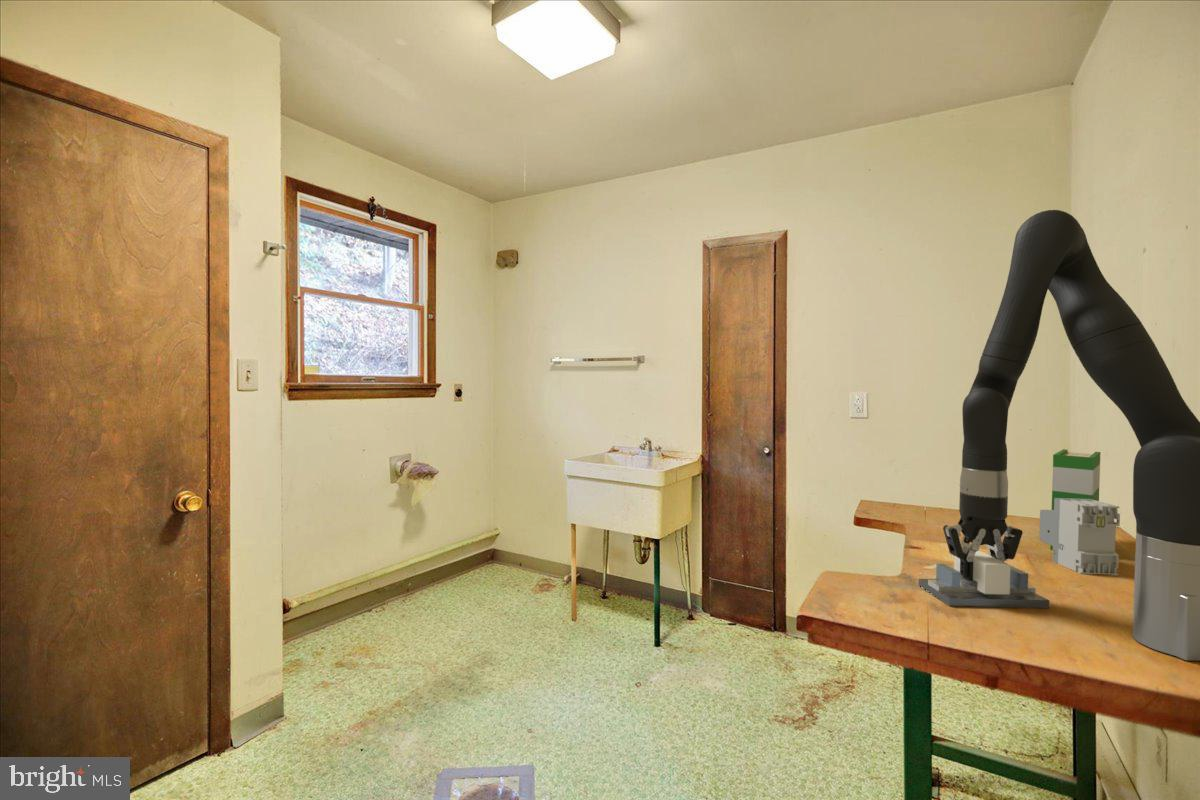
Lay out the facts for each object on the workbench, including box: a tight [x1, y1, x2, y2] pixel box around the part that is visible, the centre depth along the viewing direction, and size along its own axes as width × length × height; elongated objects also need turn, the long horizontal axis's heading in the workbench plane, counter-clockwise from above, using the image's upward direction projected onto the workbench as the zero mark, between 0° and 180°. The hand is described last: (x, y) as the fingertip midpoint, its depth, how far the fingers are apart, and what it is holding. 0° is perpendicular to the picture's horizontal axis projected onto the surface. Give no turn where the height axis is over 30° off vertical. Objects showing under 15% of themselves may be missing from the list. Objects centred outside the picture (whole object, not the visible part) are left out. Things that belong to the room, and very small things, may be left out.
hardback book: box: [1049, 449, 1101, 551], centre depth 136 cm, size 18×7×24 cm, turn 133°
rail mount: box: [918, 563, 1050, 609], centre depth 103 cm, size 10×18×6 cm, turn 88°
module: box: [953, 550, 1011, 594], centre depth 103 cm, size 9×4×6 cm, turn 178°
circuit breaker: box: [1038, 498, 1121, 576], centre depth 122 cm, size 8×14×15 cm, turn 174°
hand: (981, 579), depth 103 cm, fingers closed on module, 4 cm apart
